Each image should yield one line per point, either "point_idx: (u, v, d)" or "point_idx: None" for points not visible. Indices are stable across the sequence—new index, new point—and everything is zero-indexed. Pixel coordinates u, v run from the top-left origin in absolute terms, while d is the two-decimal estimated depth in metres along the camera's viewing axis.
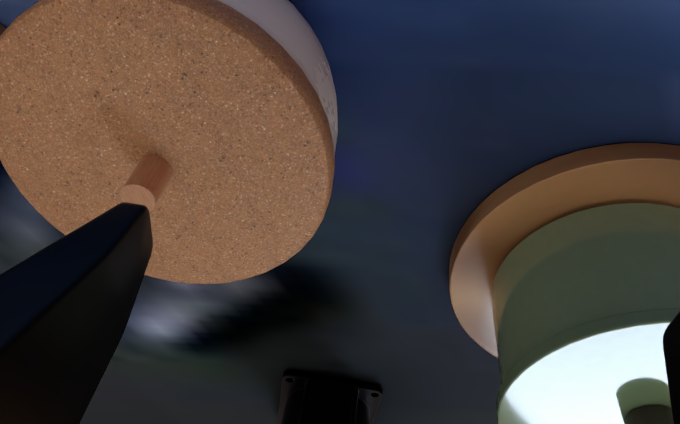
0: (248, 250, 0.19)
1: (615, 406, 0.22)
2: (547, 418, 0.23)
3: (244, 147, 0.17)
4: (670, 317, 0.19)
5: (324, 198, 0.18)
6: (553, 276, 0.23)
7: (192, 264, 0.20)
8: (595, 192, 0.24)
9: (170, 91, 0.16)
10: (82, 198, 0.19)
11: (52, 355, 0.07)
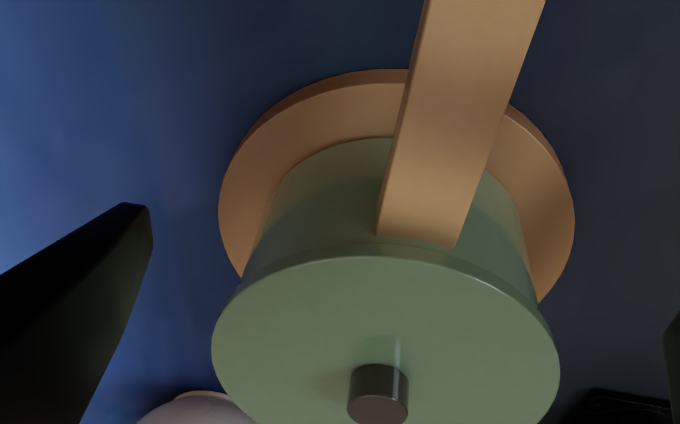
0: None
1: None
2: None
3: None
4: (221, 380, 0.21)
5: None
6: None
7: None
8: None
9: None
10: None
11: (52, 355, 0.07)
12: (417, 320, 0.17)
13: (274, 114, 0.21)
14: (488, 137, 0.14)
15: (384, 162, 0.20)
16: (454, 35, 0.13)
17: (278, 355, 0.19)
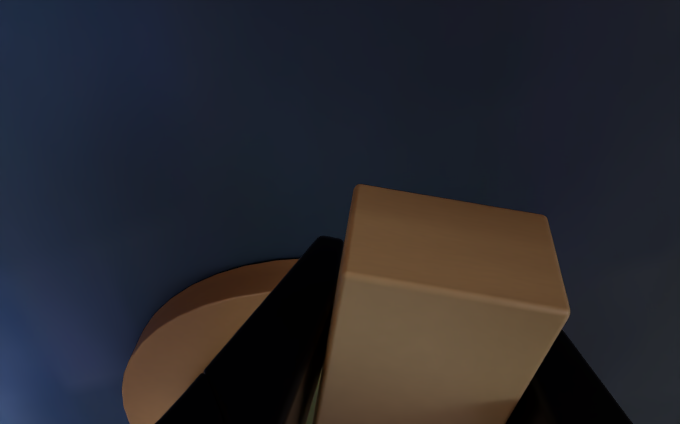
0: None
1: None
2: None
3: None
4: None
5: None
6: None
7: None
8: None
9: None
10: None
11: (303, 399, 0.07)
12: None
13: (177, 314, 0.16)
14: None
15: None
16: (373, 409, 0.07)
17: None
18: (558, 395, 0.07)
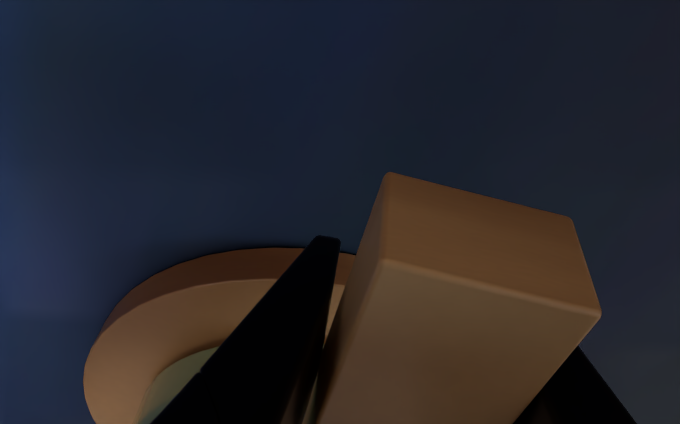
0: None
1: None
2: None
3: None
4: None
5: None
6: None
7: None
8: (131, 416, 0.19)
9: None
10: None
11: (299, 398, 0.07)
12: None
13: (226, 278, 0.15)
14: None
15: None
16: (384, 401, 0.07)
17: None
18: (563, 396, 0.07)
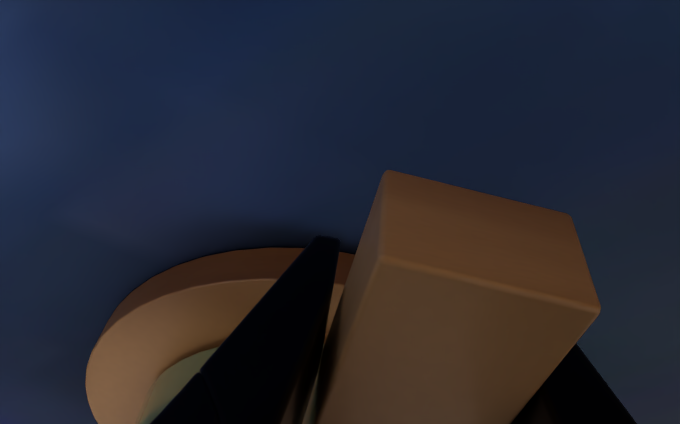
0: None
1: None
2: None
3: None
4: None
5: None
6: None
7: None
8: (140, 367, 0.17)
9: None
10: None
11: (299, 398, 0.07)
12: None
13: None
14: None
15: None
16: (384, 399, 0.07)
17: None
18: (563, 396, 0.07)
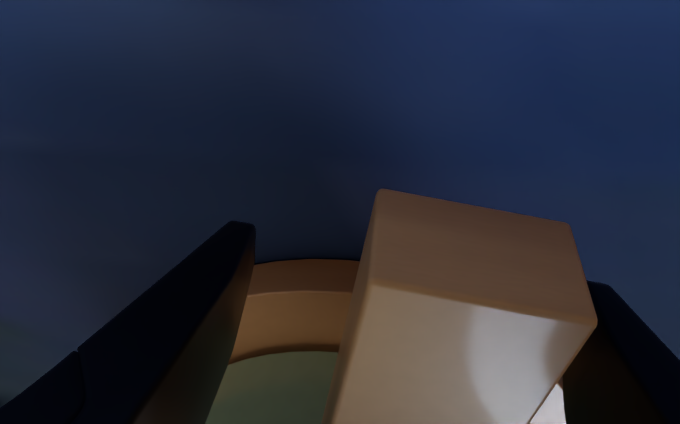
0: None
1: None
2: None
3: None
4: None
5: None
6: None
7: None
8: (265, 332, 0.16)
9: None
10: None
11: (190, 379, 0.07)
12: None
13: None
14: None
15: (321, 404, 0.14)
16: (390, 415, 0.07)
17: None
18: None
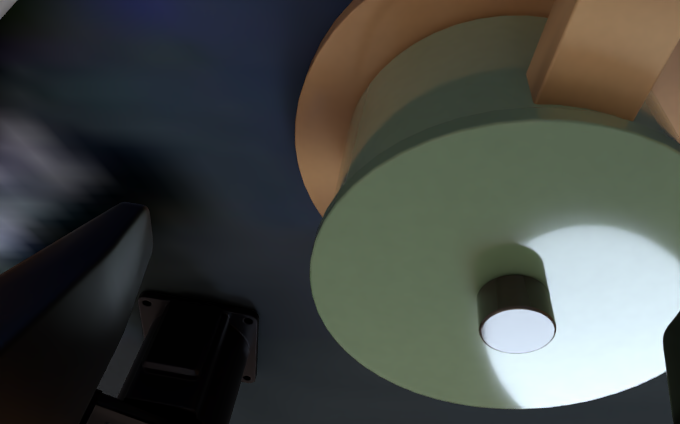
0: None
1: None
2: (511, 376, 0.19)
3: None
4: (315, 300, 0.18)
5: None
6: None
7: None
8: (453, 4, 0.18)
9: None
10: None
11: (52, 355, 0.07)
12: (581, 212, 0.14)
13: None
14: None
15: (519, 37, 0.16)
16: None
17: (393, 264, 0.16)
18: None
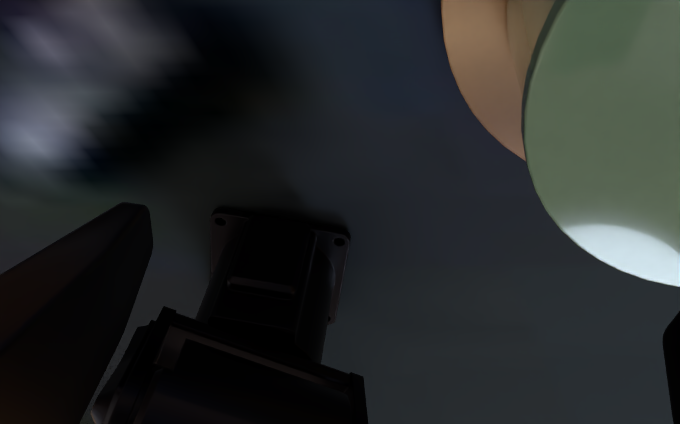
0: None
1: None
2: None
3: None
4: (523, 126, 0.13)
5: None
6: None
7: None
8: None
9: None
10: None
11: (52, 355, 0.07)
12: None
13: None
14: None
15: None
16: None
17: (659, 51, 0.12)
18: None
